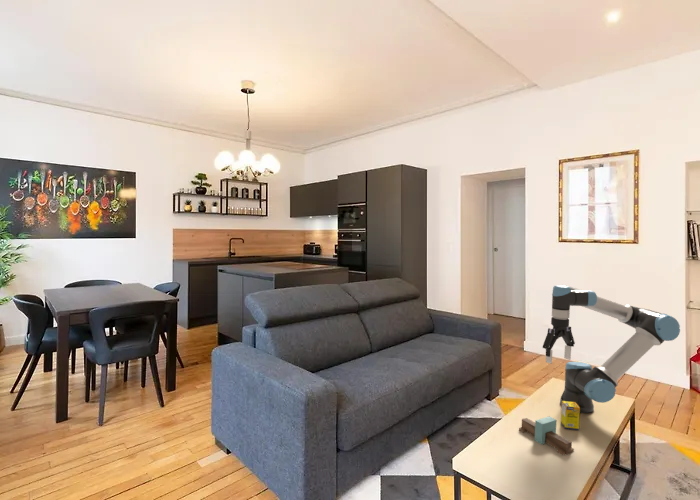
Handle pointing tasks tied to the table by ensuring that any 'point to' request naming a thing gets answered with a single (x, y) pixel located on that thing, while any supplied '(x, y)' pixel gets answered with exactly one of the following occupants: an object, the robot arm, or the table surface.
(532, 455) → the table surface
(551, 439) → the rail
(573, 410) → the supplement box
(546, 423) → the slotted block
